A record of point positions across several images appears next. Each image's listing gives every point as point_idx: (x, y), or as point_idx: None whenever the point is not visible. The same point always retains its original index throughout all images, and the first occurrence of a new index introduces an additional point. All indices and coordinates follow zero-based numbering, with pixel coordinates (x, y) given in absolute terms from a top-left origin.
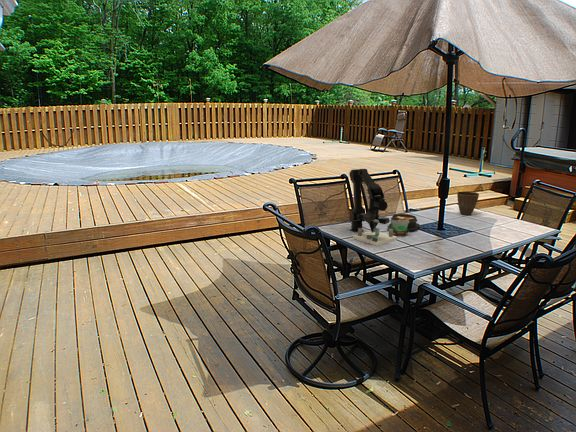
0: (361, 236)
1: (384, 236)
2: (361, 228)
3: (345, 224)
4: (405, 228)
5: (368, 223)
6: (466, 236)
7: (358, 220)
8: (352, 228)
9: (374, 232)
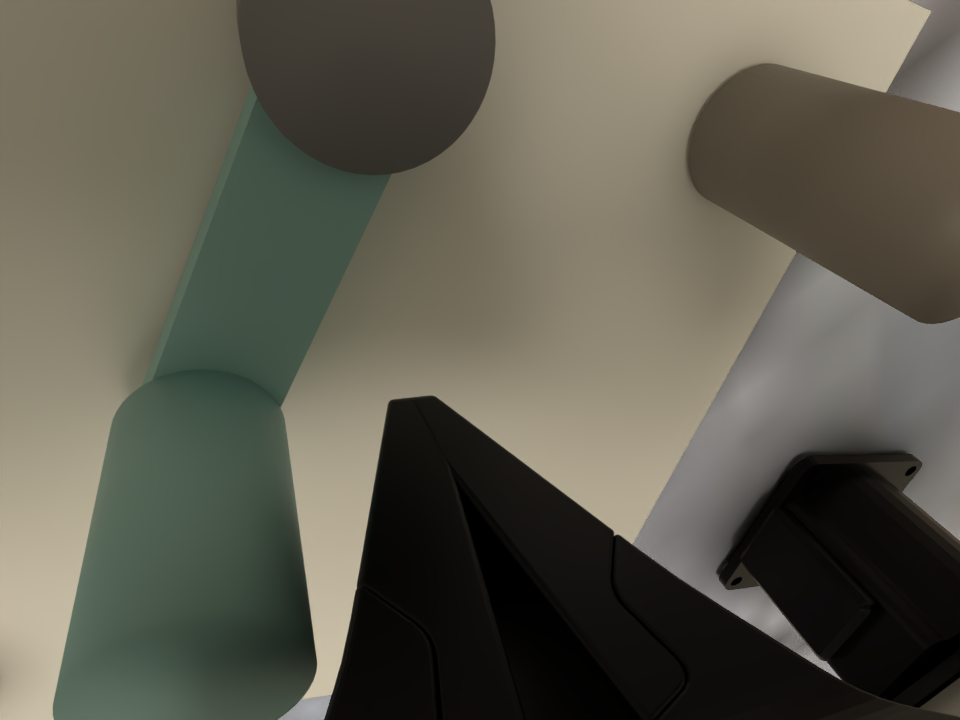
0: (680, 77)
1: (61, 573)
2: (931, 280)
3: None
4: None
5: (902, 704)
6: None
7: (954, 689)
8: (901, 492)
9: None
